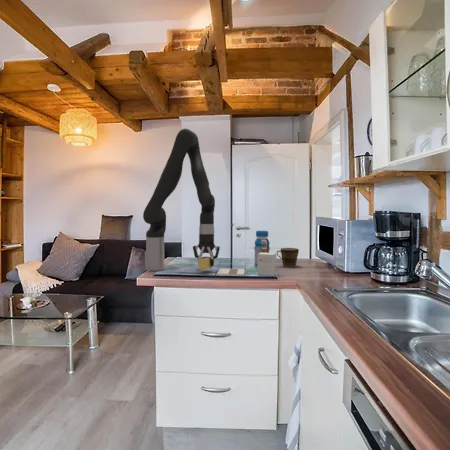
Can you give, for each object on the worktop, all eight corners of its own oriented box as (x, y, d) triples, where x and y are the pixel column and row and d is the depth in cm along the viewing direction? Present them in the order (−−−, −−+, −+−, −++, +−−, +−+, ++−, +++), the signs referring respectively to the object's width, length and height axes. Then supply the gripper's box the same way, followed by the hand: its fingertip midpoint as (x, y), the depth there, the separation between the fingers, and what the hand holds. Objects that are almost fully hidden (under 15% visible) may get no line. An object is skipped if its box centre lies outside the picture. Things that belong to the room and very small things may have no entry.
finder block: (198, 269, 148) (198, 258, 148) (205, 265, 157) (205, 256, 156) (207, 269, 147) (207, 259, 147) (213, 266, 155) (213, 256, 155)
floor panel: (217, 275, 145) (217, 273, 145) (219, 270, 157) (219, 268, 157) (243, 275, 144) (243, 273, 144) (244, 270, 156) (244, 269, 156)
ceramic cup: (292, 264, 174) (292, 247, 174) (302, 267, 165) (302, 249, 164) (272, 265, 170) (272, 248, 170) (281, 269, 161) (281, 250, 160)
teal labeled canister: (251, 267, 165) (252, 231, 164) (257, 265, 172) (257, 230, 172) (266, 268, 161) (266, 231, 160) (271, 266, 169) (271, 230, 168)
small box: (276, 274, 148) (276, 253, 147) (273, 276, 142) (273, 254, 142) (260, 272, 151) (260, 252, 150) (257, 275, 146) (257, 253, 145)
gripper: (191, 233, 148) (190, 267, 149) (220, 233, 146) (219, 268, 147) (194, 232, 155) (193, 264, 156) (221, 232, 154) (221, 265, 155)
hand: (206, 266), depth 152 cm, fingers closed on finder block, 5 cm apart
